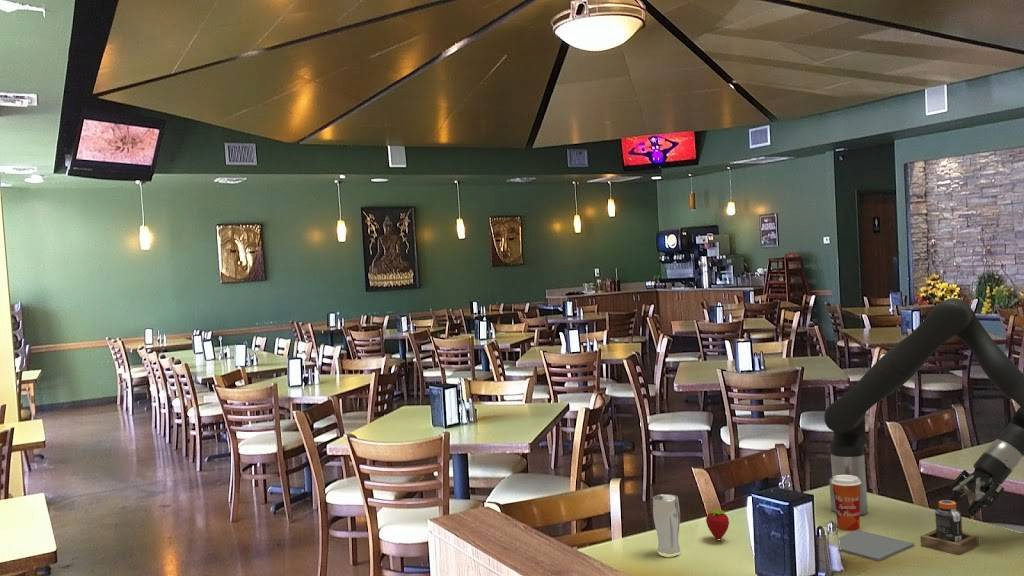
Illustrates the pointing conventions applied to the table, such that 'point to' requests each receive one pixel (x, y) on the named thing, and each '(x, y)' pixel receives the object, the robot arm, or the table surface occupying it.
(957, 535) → the pill bottle
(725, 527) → the strawberry
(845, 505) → the paper cup
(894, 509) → the table surface
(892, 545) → the rubber mat
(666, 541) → the beer glass
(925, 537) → the holder collar
